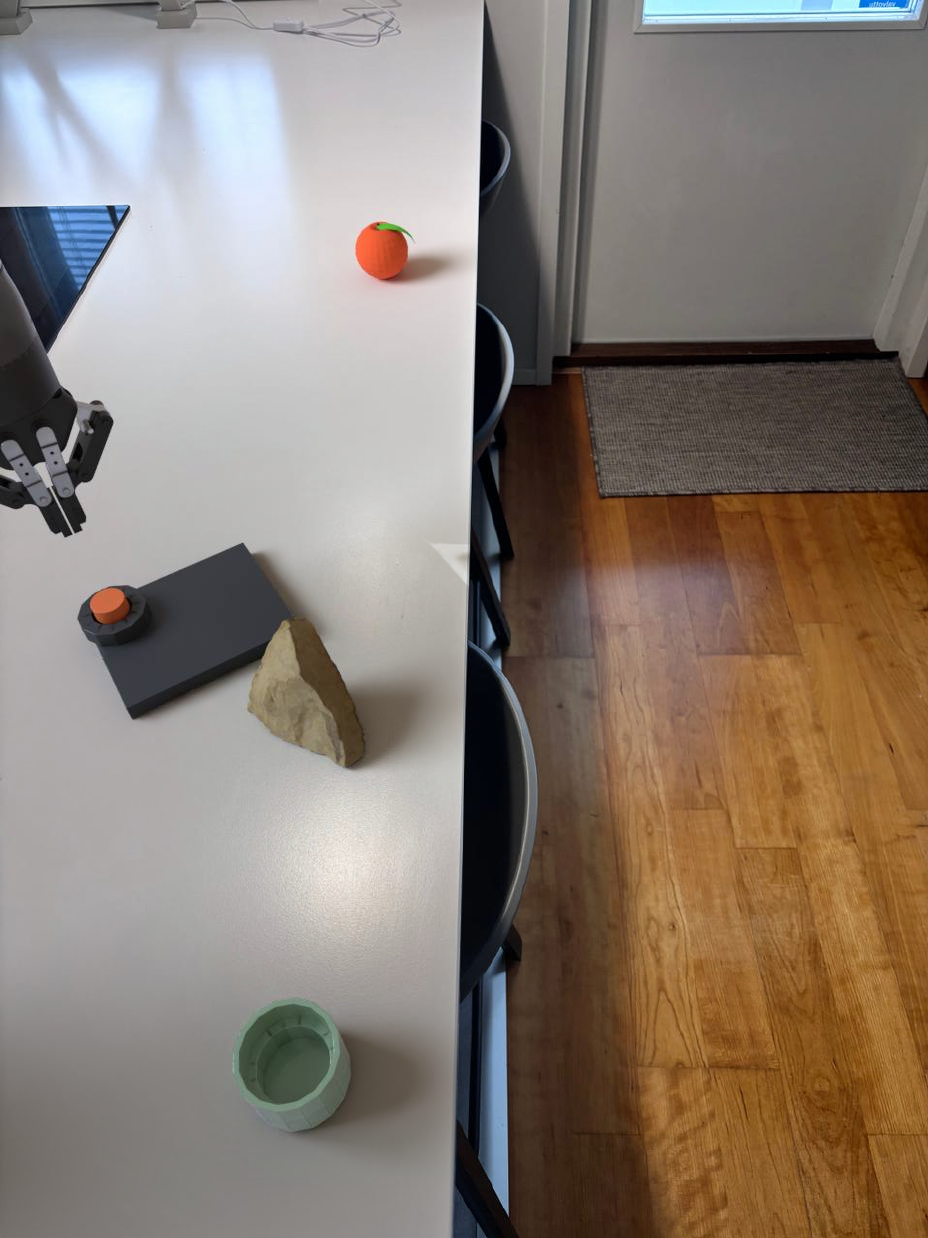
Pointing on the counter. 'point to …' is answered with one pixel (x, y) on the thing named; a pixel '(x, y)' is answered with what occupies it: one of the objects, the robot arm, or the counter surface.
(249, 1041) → the bowl
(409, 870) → the counter surface
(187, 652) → the scale
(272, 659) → the rock
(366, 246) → the clementine
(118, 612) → the button
